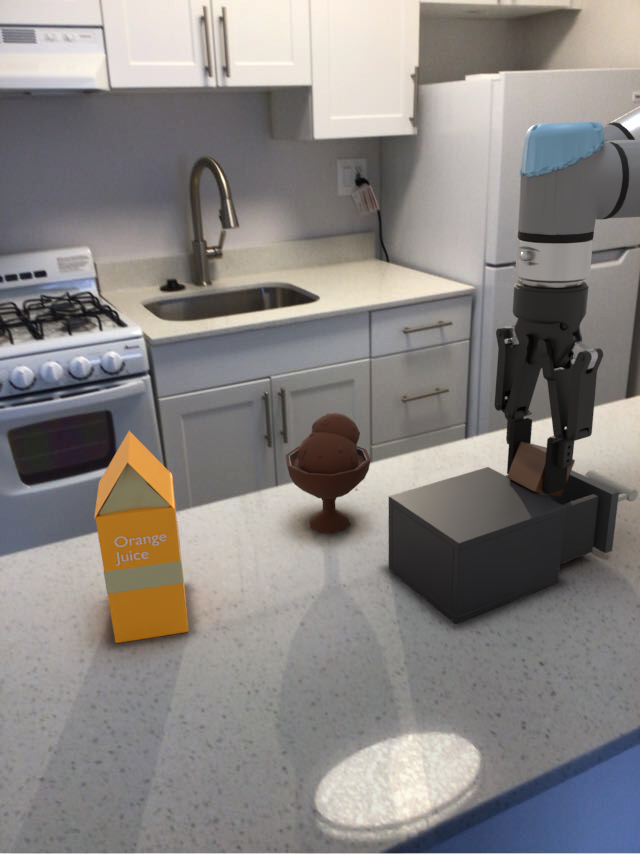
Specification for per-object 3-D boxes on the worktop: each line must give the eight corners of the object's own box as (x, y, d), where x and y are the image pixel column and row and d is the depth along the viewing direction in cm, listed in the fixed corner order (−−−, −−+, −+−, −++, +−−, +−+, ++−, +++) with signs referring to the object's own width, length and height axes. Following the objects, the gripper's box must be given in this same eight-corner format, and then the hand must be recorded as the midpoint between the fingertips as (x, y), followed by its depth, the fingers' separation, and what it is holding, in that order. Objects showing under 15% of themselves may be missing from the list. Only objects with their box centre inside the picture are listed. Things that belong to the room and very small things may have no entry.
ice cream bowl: (297, 501, 106) (292, 401, 101) (376, 507, 104) (376, 404, 98) (278, 539, 97) (272, 430, 91) (365, 546, 94) (363, 434, 89)
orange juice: (185, 586, 87) (167, 424, 80) (190, 631, 79) (169, 456, 72) (116, 596, 86) (90, 432, 78) (113, 644, 78) (84, 466, 70)
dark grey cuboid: (484, 535, 96) (488, 466, 92) (558, 582, 85) (565, 506, 82) (388, 568, 89) (388, 495, 86) (456, 624, 79) (459, 543, 75)
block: (532, 482, 91) (546, 447, 90) (561, 497, 87) (575, 460, 87) (506, 477, 88) (520, 440, 88) (534, 492, 85) (549, 453, 84)
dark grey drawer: (577, 501, 102) (582, 447, 99) (648, 536, 92) (656, 478, 89) (460, 540, 93) (462, 483, 90) (526, 584, 84) (531, 522, 81)
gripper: (467, 272, 85) (459, 461, 94) (593, 299, 70) (571, 521, 79) (517, 265, 88) (506, 448, 97) (648, 289, 73) (621, 503, 82)
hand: (535, 480), depth 88 cm, fingers open, 5 cm apart
